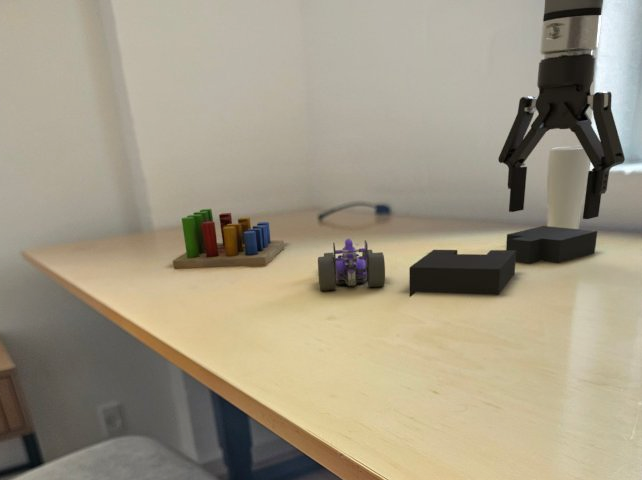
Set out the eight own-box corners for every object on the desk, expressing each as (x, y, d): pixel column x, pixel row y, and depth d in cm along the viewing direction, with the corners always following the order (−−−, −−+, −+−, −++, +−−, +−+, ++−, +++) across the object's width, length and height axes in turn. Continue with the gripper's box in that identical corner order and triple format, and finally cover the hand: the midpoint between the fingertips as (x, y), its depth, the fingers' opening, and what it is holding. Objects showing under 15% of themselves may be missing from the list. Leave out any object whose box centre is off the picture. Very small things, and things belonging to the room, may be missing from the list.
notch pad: (409, 296, 90) (409, 267, 89) (433, 276, 100) (433, 249, 98) (498, 300, 85) (500, 269, 84) (514, 278, 95) (516, 250, 93)
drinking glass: (555, 234, 122) (563, 146, 116) (589, 237, 118) (600, 145, 111) (534, 240, 119) (541, 149, 112) (568, 243, 114) (578, 149, 107)
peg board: (266, 266, 116) (261, 215, 112) (173, 270, 119) (164, 221, 115) (284, 247, 131) (280, 202, 127) (201, 251, 134) (195, 207, 130)
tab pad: (493, 262, 105) (494, 237, 103) (541, 250, 111) (543, 225, 109) (545, 271, 97) (548, 243, 96) (594, 257, 103) (597, 231, 101)
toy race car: (376, 267, 108) (375, 226, 105) (385, 289, 95) (384, 243, 92) (319, 272, 109) (316, 231, 106) (319, 294, 95) (316, 248, 92)
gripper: (481, 64, 100) (473, 211, 109) (636, 45, 81) (610, 225, 91) (514, 62, 103) (504, 205, 113) (669, 44, 84) (641, 217, 94)
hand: (551, 214), depth 102 cm, fingers open, 13 cm apart
